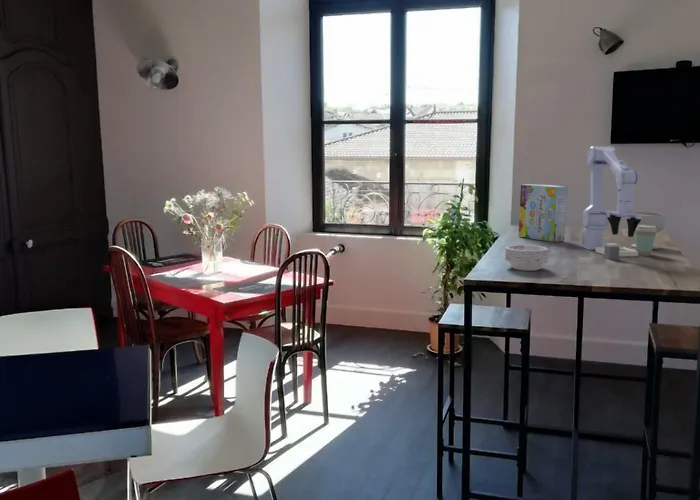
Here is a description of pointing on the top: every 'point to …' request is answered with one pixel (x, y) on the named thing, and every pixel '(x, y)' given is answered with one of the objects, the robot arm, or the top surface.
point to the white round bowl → (526, 257)
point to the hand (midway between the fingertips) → (622, 235)
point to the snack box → (542, 212)
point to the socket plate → (620, 251)
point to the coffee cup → (645, 239)
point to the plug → (611, 251)
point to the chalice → (652, 222)
